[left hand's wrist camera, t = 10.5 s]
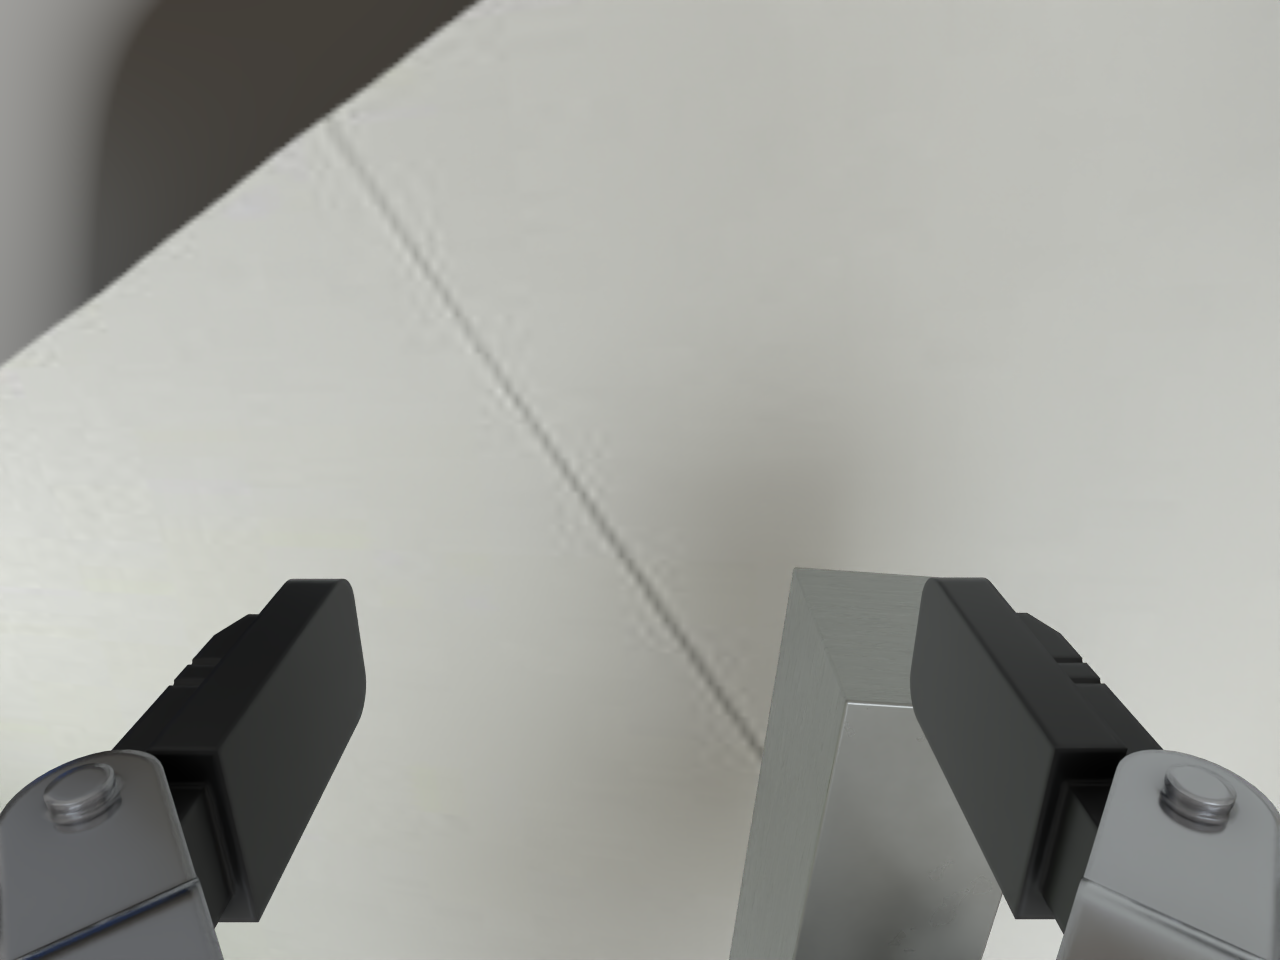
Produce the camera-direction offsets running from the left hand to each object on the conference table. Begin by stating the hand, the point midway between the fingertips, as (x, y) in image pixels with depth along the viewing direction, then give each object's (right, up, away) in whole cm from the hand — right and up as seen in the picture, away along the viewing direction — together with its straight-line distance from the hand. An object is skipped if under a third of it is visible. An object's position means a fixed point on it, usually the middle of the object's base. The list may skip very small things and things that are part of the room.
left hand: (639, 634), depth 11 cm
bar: (+8, -12, +22) cm, 27 cm away
